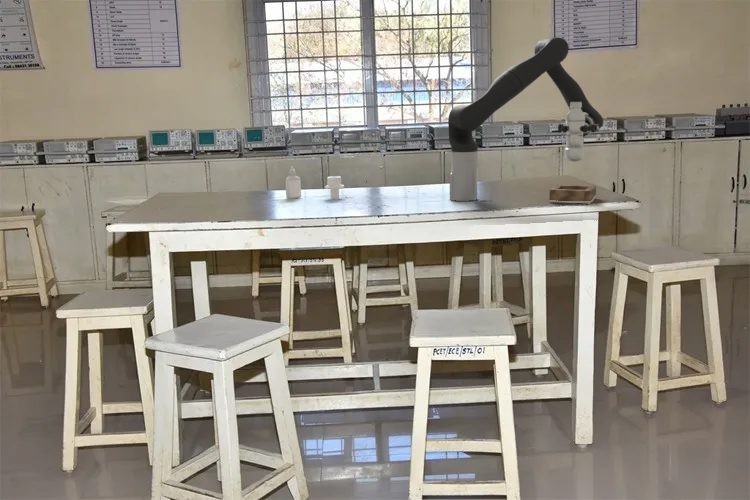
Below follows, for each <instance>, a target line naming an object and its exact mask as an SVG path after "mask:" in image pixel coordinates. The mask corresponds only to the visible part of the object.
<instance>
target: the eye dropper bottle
mask: <svg viewBox="0 0 750 500" xmlns="http://www.w3.org/2000/svg"><path fill="white" fill-rule="evenodd" d="M288 173H289V176H287V177H286V178H285V196H286V199H289V200H291V199H292V200H293V199H294V200H295V199H299V198H301V197H302V186H301V178H300V177H299V176H297V174H296V173H297V172H296V169H294V165H293V166H292V165H291V167H290V169H289V171H288Z"/></svg>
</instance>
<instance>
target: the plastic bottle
mask: <svg viewBox="0 0 750 500" xmlns="http://www.w3.org/2000/svg"><path fill="white" fill-rule="evenodd" d="M581 107H582V102H570V108H571V109H569V111H568V112H567V114H566V115H565V118H564V119H565V125H566V129H567V133H566V141H565V142H566V143H565V148H564V158H565V160H566V161H570V162H573V163H574V162H575V163H576V162H579V161H583V160H584V158H585V154H586V153H585V147H584V137H583V126H584V124H585V112H582V110H581Z"/></svg>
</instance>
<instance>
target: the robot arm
mask: <svg viewBox="0 0 750 500" xmlns="http://www.w3.org/2000/svg"><path fill="white" fill-rule="evenodd" d="M569 49H570V47H569V43H568V41H567V40H566V39H564V38H562V37H555V36H553V37H548V38H543V39H540V40H539V41H538V42H537V43H536V44H535V47H534V55H533V56H530V57H529V58H527V59H525V60H523V61H521V62H519V63H517V64H514V65H513V66H511V67H509V68H508V69H506V70H505V71H503V73H501V74H500V75H499V76H498V77H496V78H495V79H494V80H493V81H492V83H491V84H490V85H489V87H488V89H487V90H486V92H485V93H484V94H483V95H482V96H481V97H480V98H478V99H477V100H475V101H473V102H471V103H469V104H459V105H455V106H454V107H452V108H451V110H450V111H449V115H448V126H447V127H448V141H449V145H450V148H451V154H450V156H451V159H450V160H451V165H450V166H451V172H450V173H449V201H455V200H456V201H457V202H458V201H459V202H470V201H469V200H473V201H476V199H477V200H478V196H479V195H478V194H479V193H478V188H479V187H478V183H479V182H478V170H479V168H478V165H479V164H478V162H479V161H478V160H479V159H478V158H479V157H478V156H479V155H478V149H479V147H478V143H477V142H476V140H475V139H474V136H473V132H474V131H476V130H477V129H479V128H480V127H481V126H482V125H483V124H484V123H485V122H486V121H487V120H488V119H490V117H491V116H492V115H493V114H494V113H495V112H497V111H498V110H500V109H501V108H503V106H504V105H506V104H507V103H509V102H510V101H512V100H513V99H514V98H515V97H517V96H518V95H519V94H520V93H522V92H523V91H524V90H525V89H526V88H528V87H529V86H530V85H531V84H533V83H534V82H535V81H536V80H537V79H539V77H541V76H542V75H543V74H545V73H547V75H548V77H550V79H551V80H552V82H553V84H554V85H555V86H556V87H557V89H558V90H559V92H560V94H561V95H562V97H563V99H564V101H565V103H566V105H567V106H568V109H569V110H570V109H571V108H570V102H582V107H581V110H582V112H583V113H584V115H585V124H584V126H583V138H585V137H586V136H588V135H590V134H591V133H596V132H599V129H601V128H602V127H603V125H604V119H603V116H602V115H601V114H600V113H599V111H598V110H596V108H595V107H593V106H592V104H591V103H590V102H589V100H588V99H587V97H586V95H585V93H584V91H583V89H582V86H580V84H579V83H578V82H577V80H575V79H574V78H573V77H572V76H571V74H569V73H568V71H566V69H565V68H564V67H563V66H562V64H561V63H563V61H564V60H565V59H566V58H567V56H568V53H569ZM585 113H586V114H585ZM557 133H566V134H567V129H566V124H563V123H559V124H557Z"/></svg>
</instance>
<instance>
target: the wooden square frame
mask: <svg viewBox="0 0 750 500" xmlns="http://www.w3.org/2000/svg"><path fill="white" fill-rule="evenodd" d="M595 195H597V186H596V185H580V184H578V185H577V184H556V185H554V186H553V187H552V188H550V189H549V200H556V201H557V200H558V201H591V200H592V199H593V197H594V196H595Z"/></svg>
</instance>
